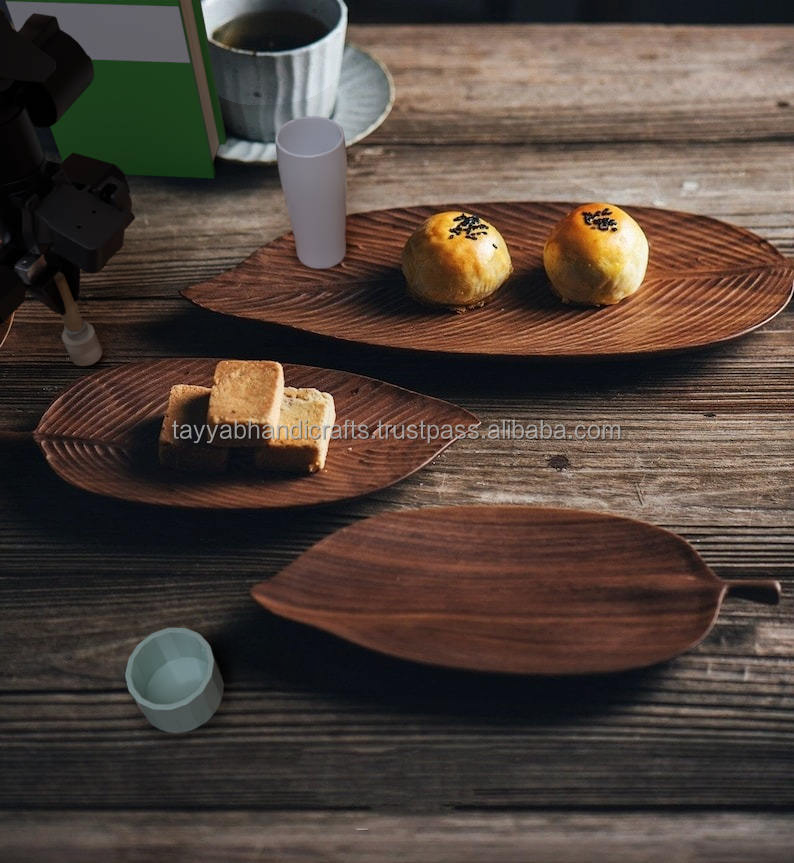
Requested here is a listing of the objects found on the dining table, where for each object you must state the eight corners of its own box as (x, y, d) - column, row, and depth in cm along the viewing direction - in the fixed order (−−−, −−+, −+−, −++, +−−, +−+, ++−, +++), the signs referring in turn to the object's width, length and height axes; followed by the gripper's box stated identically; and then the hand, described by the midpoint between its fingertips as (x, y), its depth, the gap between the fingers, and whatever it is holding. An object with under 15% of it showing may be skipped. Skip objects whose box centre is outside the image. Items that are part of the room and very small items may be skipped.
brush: (73, 369, 88) (39, 293, 80) (68, 348, 90) (35, 271, 82) (105, 361, 89) (74, 284, 81) (99, 339, 91) (69, 262, 83)
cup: (151, 747, 68) (134, 722, 64) (134, 672, 71) (118, 644, 68) (233, 717, 69) (222, 691, 65) (213, 645, 73) (201, 616, 69)
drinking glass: (324, 226, 103) (312, 106, 91) (366, 255, 100) (359, 134, 88) (277, 255, 100) (259, 135, 88) (319, 286, 97) (306, 166, 85)
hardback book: (227, 143, 113) (189, -60, 94) (214, 181, 108) (172, -24, 89) (85, 137, 114) (20, -65, 95) (67, 175, 110) (-6, -29, 91)
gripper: (14, 265, 65) (78, 406, 77) (160, 120, 75) (196, 265, 87) (-110, 224, 68) (-29, 366, 80) (48, 90, 78) (98, 235, 90)
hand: (66, 306), depth 84 cm, fingers closed on brush
